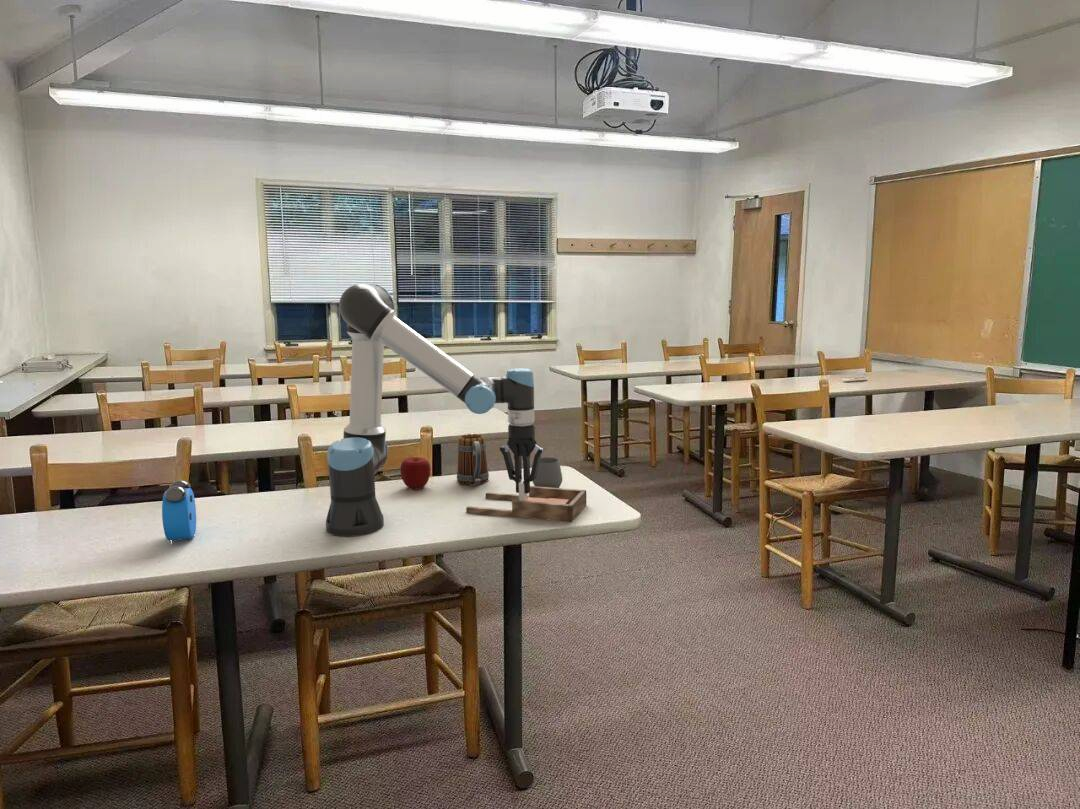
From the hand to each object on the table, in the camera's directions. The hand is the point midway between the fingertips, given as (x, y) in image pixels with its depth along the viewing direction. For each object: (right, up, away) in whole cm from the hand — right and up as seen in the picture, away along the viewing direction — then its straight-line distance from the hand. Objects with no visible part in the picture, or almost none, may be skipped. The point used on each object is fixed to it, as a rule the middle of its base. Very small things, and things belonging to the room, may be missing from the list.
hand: (523, 503), depth 205 cm
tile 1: (+3, -2, -1) cm, 4 cm away
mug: (-17, +3, +28) cm, 32 cm away
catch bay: (+1, -1, 0) cm, 2 cm away
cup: (+7, +1, +17) cm, 18 cm away
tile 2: (+9, -2, -3) cm, 10 cm away
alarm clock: (-88, -7, -19) cm, 91 cm away
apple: (-35, +2, +23) cm, 42 cm away
